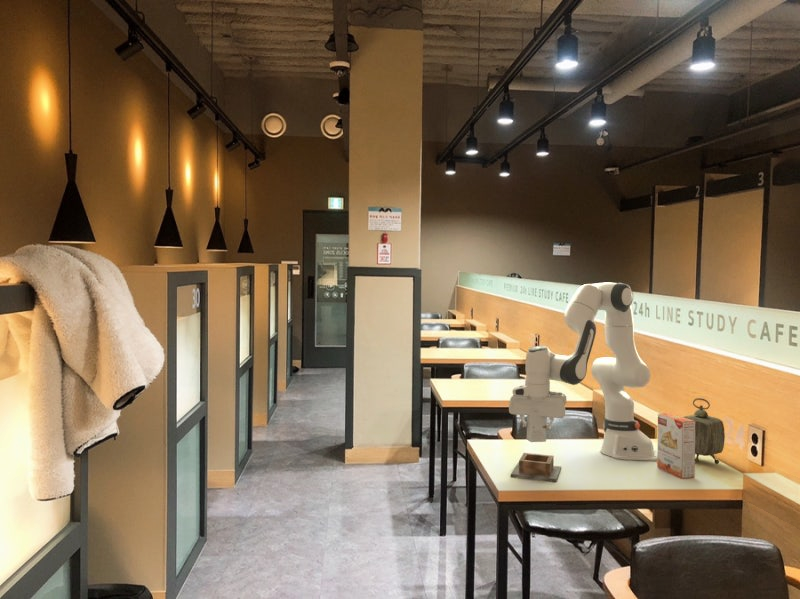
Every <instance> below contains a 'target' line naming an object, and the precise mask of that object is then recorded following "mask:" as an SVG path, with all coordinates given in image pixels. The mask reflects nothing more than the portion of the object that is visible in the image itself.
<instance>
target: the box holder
mask: <svg viewBox="0 0 800 599" xmlns="http://www.w3.org/2000/svg"><path fill="white" fill-rule="evenodd" d="M554 458H555V457H554V455H551V454H550V455H549V454H539V453H530V452H529V453H528V452H523V453H522V455H521V457H520V458H519V461H518V462H517V464H515V467H514V468H513V470H512V472H511V473H510V478H516V477H518V478H519V479H527V480H535V481H544V482H552V483H553V482H554V483H557V482H558V478H559V475H560V473H561V471H560V470H562V466H560V465H554Z"/></svg>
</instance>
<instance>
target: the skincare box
mask: <svg viewBox="0 0 800 599" xmlns="http://www.w3.org/2000/svg"><path fill="white" fill-rule="evenodd" d="M547 421H548V417H540V416H539V415H538V409H530V416H528V415H526V422H527V427H526V440H527V441H528V442H530V443H545V442H547V429H546V424H547Z"/></svg>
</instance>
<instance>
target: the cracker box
mask: <svg viewBox="0 0 800 599" xmlns="http://www.w3.org/2000/svg"><path fill="white" fill-rule="evenodd" d="M657 452H658V453H657V460H656V461H657V463H656V464H657V466H656V467H657V468H658V469H660V470H662V471H665V472H666V473H669V474H671V475H673V476H674V477H677V478H680V479H681V480H683V479H684V480H685V479H692V478H695V476H696V466H695V465H696V462H695V459H696V454H695V421H693V420H690V419H687V418H684V416H681V415H677V414H675V413H672V412H665V413H664V412H663V413H661V412H660V413H657Z"/></svg>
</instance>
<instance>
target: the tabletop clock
mask: <svg viewBox="0 0 800 599" xmlns="http://www.w3.org/2000/svg"><path fill="white" fill-rule="evenodd" d="M699 400H700V401H703V402H705V403H707V405H708V406H707V407H703V405H701V404H700V406H698V405H696V404H695V402H696V401H699ZM692 404H693V406H694V407H695V408H697V409H696V410H695V411H694V412H693V414H691V415H685V416H683V417H684V418H687V419H690V420H693V421H695V455H696V456H695V464H696V463H697V464H698V463H699V462H700V459H699V456H704V457H708V456H710V457H712V459H713V460H714V463H715V464H716V465H718V464H719V463H720V460H719V459H716V456H715V455H717V454H721V453H723V450H724V447H725V441H726V440H725V439H726V437H725V436H726V435H725V434H726V433H725V426H724V422H723V420H722V419H720V418H719V417H718V418H717V417H715V416H714V417H713V416H711V415H709V414H708V412H707V411H706V410H708V409H709V408H710V407H711V404H710V401H708V400H707V399H705V398H703V397H702V398H701V397H697V398H694V400H692Z"/></svg>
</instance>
